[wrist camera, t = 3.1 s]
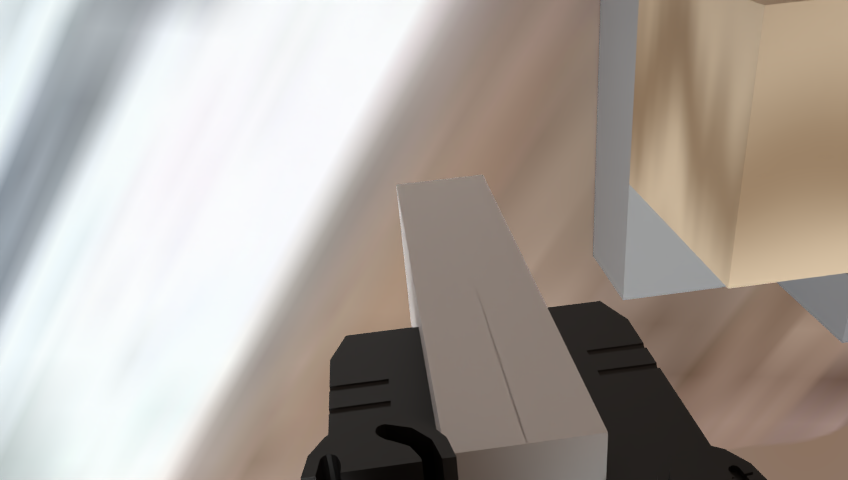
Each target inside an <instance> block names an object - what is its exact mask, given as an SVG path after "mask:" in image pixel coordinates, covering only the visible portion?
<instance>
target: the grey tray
mask: <svg viewBox="0 0 848 480" xmlns="http://www.w3.org/2000/svg"><path fill="white" fill-rule="evenodd" d="M638 7H639V0H601V4H600V38H599V72H598V106H597V141H596V175H595V209H594V243H593V256H594V258H595V259H596V261H597V262H598V264H599V265H600V267H601V268H602V270H603V271H604V273H605V274H606V276H607V277H608V279H609V280H610V282H611V283H612V284H613V286H614V287H615V289H616V290H617V292H618V293H619V295H620V296H621V298H622V299H623V300H628V299H635V298H643V297H651V296H658V295H666V294H674V293H681V292H689V291H697V290H704V289H712V288H719V287H726V286H725V285H724V284H723V283H722V281H721V280H720V279H719V278H718V277H717V276H716V275H715V274H714V273H713V272H712V271H711V270H710V269H709V268H708V267H707V266H706V265H705V264H704V263H703V261H702V260H701V259H700V258H699V257H698V256H697V255H696V254H695V253H694V252H693V251H692V250H691V249H690V248H689V247H688V246H687V245H686V244H685V242H684V241H683V240H682V239H681V238H680V237H679V236H678V235H677V234H676V233H675V232H674V231H673V230H672V229H671V228H670V227H669V226H668V225H667V224H666V222H665V221H664V220H663V219H662V218H661V217H660V216H659V215H658V214H657V213H656V212H655V211H654V210H653V209H652V208H651V207H650V206H649V205H648V203H647V202H646V201H645V200H644V199H643V198H642V197H641V196H640V195H639V194H638V193H637V192H636V191H635V190H634V189H633V188H632V187H631V186H630V184H629V178H630V159H631V140H632V121H633V102H634V83H635V64H636V45H637V26H638ZM777 283H778V284H779V285H780V286H781V287H782V288H783V289H784V290H785V291H787V292H788V293H789V294H790V295H791V296H792V297H793V298H794V299H795V300H796V301H797V302H798V303H800V304H801V305H802V306H803V307H804V308H805V309H806V310H807V311H808V312H809V313H810V314H811V315H813V316H814V317H815V318H816V319H817V320H818V321H819V322H820V323H821V324H822V325H823V326H824V327H825V328H827V329H828V330H829V331H830V332H831V333H832V334H833V335H834V336H835V337H836V338H837V339H838V340H840V341H841V342H842V343H844V342H848V273H842V274H835V275H827V276H820V277H812V278H804V279H797V280H789V281H781V282H777Z"/></svg>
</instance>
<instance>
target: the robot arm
mask: <svg viewBox="0 0 848 480" xmlns="http://www.w3.org/2000/svg"><path fill="white" fill-rule="evenodd" d="M396 187H397V196H398V205H399V214H400V224H401V233H402V242H403V252H404V261H405V270H406V279H407V289H408V298H409V307H410V317H411V324H412V328H404V329H396V330H388V331H380V332H372V333H364V334H356V335H348V336H346V337H345V338H344V340H343V341H342V343H341V344H340V346H339V347H338V349H337V351H336V352H335V354H334V355H333V357H332V358H331V360H330V392H329V412H330V414H329V433H328V436H326V437H325V438H324V439H323V440H322V441H321V442H320V443H319V444H318V445H317V447H316V448H315V449H314V450H313V451H312V452H311V453H310V454H309V456H308V458H307V461H306V464H305V467H304V470H303V473H302V476H301V480H767V479H766V478H765V477H764V476H763V475H761V473H760V472H759V471H758V470H757V469H756V468H755V467H754V466H753V465H752V464H751V463H749V462H747V461H745V460H744V459H742V458H740V457H738V456H736V455H734V454H733V453H731V452H729V451H727V450H725V449H722V448H718V447H714V446H711V445H710V444H709V442H708V441H707V439H706V438H705V436H704V434H703V433H702V431H701V430H700V428H699V427H698V425H697V424H696V422H695V421H694V419H693V418H692V416H691V415H690V413H689V412H688V410H687V409H686V407H685V406H684V404H683V403H682V401H681V399H680V398H679V396H678V395H677V393H676V392H675V390H674V389H673V387H672V386H671V384H670V383H669V381H668V380H667V378H666V377H665V375H664V374H663V372H662V371H661V369H660V368H657V365H656V361H655V360H654V358H653V357H652V355H651V354H650V352H649V351H648V349H647V348H644V345H643V342H642V340H641V339H640V337H639V336H638V334H637V333H636V331H635V330H634V328H633V327H632V325H631V323H630V322H629V320H628V319H626V318H625V317H623V316H622V315H620V314H619V313H617V312H616V311H614V310H613V309H611V308H610V307H608V306H607V305H605V304H604V303H602V302H600V301H597V302H589V303H581V304H573V305H565V306H557V307H549V308H547V306H546V304H545V302H544V300H543V298H542V296H541V293H540V291H539V289H538V287H537V285H536V283H535V281H534V279H533V277H532V275H531V273H530V271H529V269H528V267H527V265H526V263H525V261H524V258H523V256H522V254H521V252H520V250H519V248H518V246H517V244H516V242H515V240H514V238H513V236H512V234H511V232H510V230H509V228H508V226H507V223H506V221H505V219H504V217H503V215H502V213H501V211H500V209H499V207H498V205H497V203H496V201H495V199H494V197H493V195H492V193H491V191H490V188H489V186H488V184H487V182H486V180H485V178H484V176H483V175H477V176H468V177H459V178H451V179H442V180H433V181H425V182H416V183H407V184H399V185H396Z"/></svg>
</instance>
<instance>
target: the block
mask: <svg viewBox="0 0 848 480" xmlns="http://www.w3.org/2000/svg"><path fill="white" fill-rule="evenodd" d="M629 184H630V186H631V187H632V188H633V189H634V190H635V191H636V192H637V193H638V194H639V195H640V196H641V197H642V198H643V199H644V200H645V201H646V202H647V203H648V205H649V206H650V207H651V208H652V209H653V210H654V211H655V212H656V213H657V214H658V215H659V216H660V217H661V218H662V219H663V220H664V221H665V222H666V224H667V225H668V226H669V227H670V228H671V229H672V230H673V231H674V232H675V233H676V234H677V235H678V236H679V237H680V238H681V239H682V240H683V241H684V242H685V244H686V245H687V246H688V247H689V248H690V249H691V250H692V251H693V252H694V253H695V254H696V255H697V256H698V257H699V258H700V259H701V260H702V261H703V263H704V264H705V265H706V266H707V267H708V268H709V269H710V270H711V271H712V272H713V273H714V274H715V275H716V276H717V277H718V278H719V279H720V280H721V281H722V283H723V284H724V285H725V286H726V287H727V288H736V287H743V286H751V285H759V284H766V283H774V282H781V281H789V280H797V279H804V278H812V277H820V276H827V275H835V274H842V273H848V0H639V7H638V26H637V45H636V64H635V83H634V102H633V121H632V140H631V159H630V178H629Z"/></svg>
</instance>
